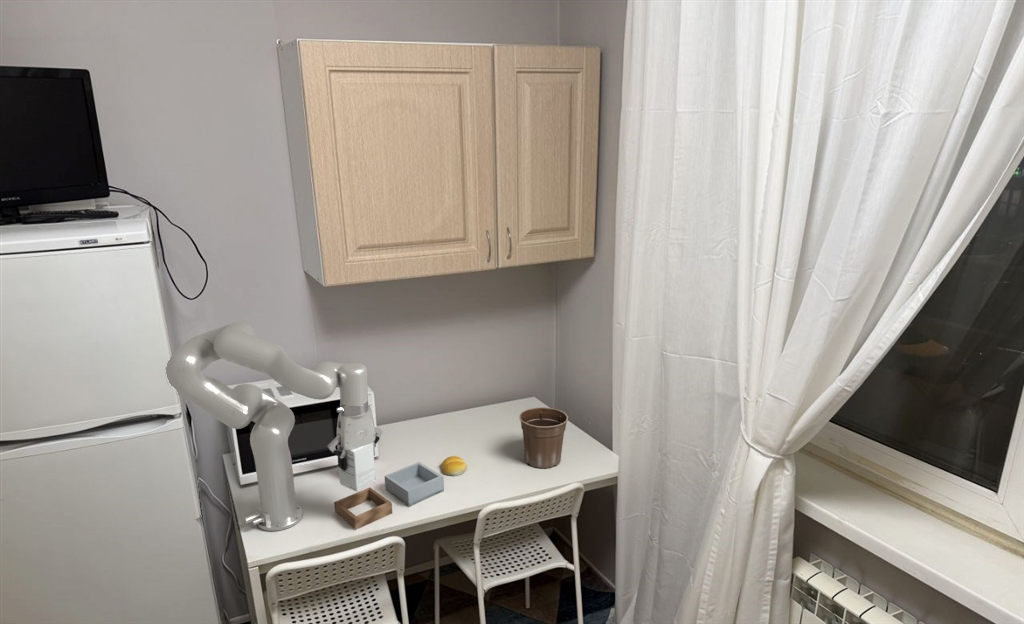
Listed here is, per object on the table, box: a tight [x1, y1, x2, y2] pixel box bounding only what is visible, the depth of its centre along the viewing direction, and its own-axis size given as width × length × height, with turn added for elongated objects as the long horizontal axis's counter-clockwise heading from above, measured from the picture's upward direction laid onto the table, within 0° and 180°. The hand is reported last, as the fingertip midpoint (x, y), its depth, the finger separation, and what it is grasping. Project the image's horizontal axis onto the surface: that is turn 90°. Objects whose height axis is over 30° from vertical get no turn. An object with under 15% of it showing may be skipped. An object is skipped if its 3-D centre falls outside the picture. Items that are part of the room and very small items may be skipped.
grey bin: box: [384, 461, 445, 508], centre depth 198 cm, size 13×13×5 cm
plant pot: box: [518, 406, 569, 469], centre depth 215 cm, size 16×16×16 cm
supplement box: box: [336, 443, 376, 493], centre depth 183 cm, size 7×7×13 cm
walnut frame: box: [333, 487, 393, 531], centre depth 187 cm, size 12×12×4 cm
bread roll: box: [440, 455, 468, 477], centre depth 211 cm, size 8×9×4 cm
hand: (356, 463), depth 183 cm, fingers closed on supplement box, 8 cm apart
